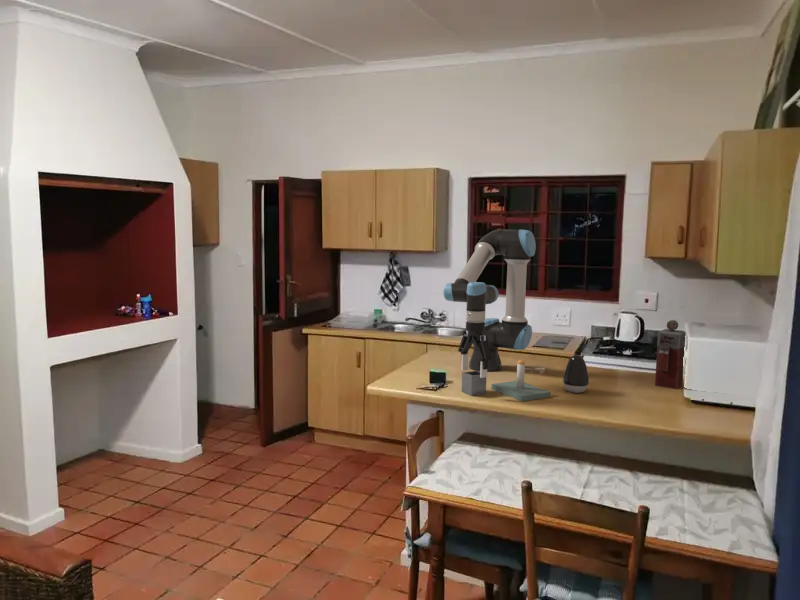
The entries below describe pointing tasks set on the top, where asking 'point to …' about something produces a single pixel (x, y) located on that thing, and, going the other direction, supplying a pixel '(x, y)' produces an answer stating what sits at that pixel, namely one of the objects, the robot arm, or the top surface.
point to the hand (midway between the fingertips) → (473, 373)
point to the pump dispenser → (576, 375)
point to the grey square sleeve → (473, 383)
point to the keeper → (520, 387)
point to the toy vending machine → (670, 356)
